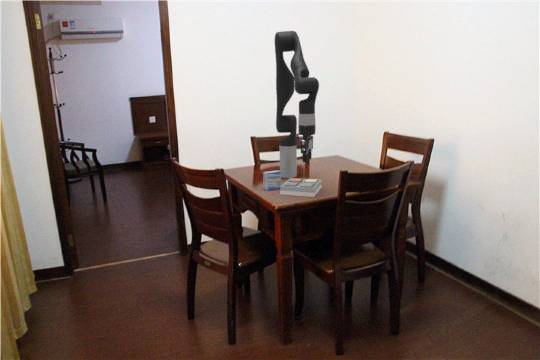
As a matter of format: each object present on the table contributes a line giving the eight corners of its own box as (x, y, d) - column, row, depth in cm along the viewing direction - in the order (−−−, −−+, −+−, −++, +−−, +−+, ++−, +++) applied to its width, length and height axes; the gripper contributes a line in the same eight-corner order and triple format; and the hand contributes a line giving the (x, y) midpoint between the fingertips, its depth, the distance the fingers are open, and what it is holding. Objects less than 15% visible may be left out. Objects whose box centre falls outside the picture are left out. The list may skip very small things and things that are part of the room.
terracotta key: (292, 181, 198) (292, 178, 198) (302, 182, 197) (302, 178, 196) (289, 184, 194) (289, 180, 193) (299, 184, 192) (299, 181, 192)
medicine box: (266, 190, 194) (266, 173, 191) (263, 188, 198) (262, 171, 195) (281, 188, 197) (281, 171, 194) (277, 186, 201) (277, 169, 198)
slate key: (288, 185, 191) (288, 181, 191) (298, 185, 190) (298, 182, 189) (285, 188, 187) (284, 184, 186) (295, 188, 185) (295, 185, 185)
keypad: (290, 185, 201) (290, 178, 200) (321, 187, 196) (321, 179, 195) (280, 194, 187) (280, 186, 186) (314, 197, 181) (314, 188, 180)
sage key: (303, 186, 189) (303, 182, 189) (313, 186, 187) (313, 183, 187) (300, 189, 184) (300, 185, 184) (311, 189, 183) (311, 186, 182)
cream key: (307, 182, 196) (307, 178, 195) (317, 182, 194) (317, 179, 194) (304, 184, 191) (304, 181, 191) (314, 185, 190) (314, 182, 189)
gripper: (302, 121, 186) (303, 157, 191) (294, 125, 173) (294, 163, 177) (318, 122, 184) (318, 157, 188) (311, 125, 171) (311, 164, 175)
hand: (307, 160), depth 183 cm, fingers open, 6 cm apart
